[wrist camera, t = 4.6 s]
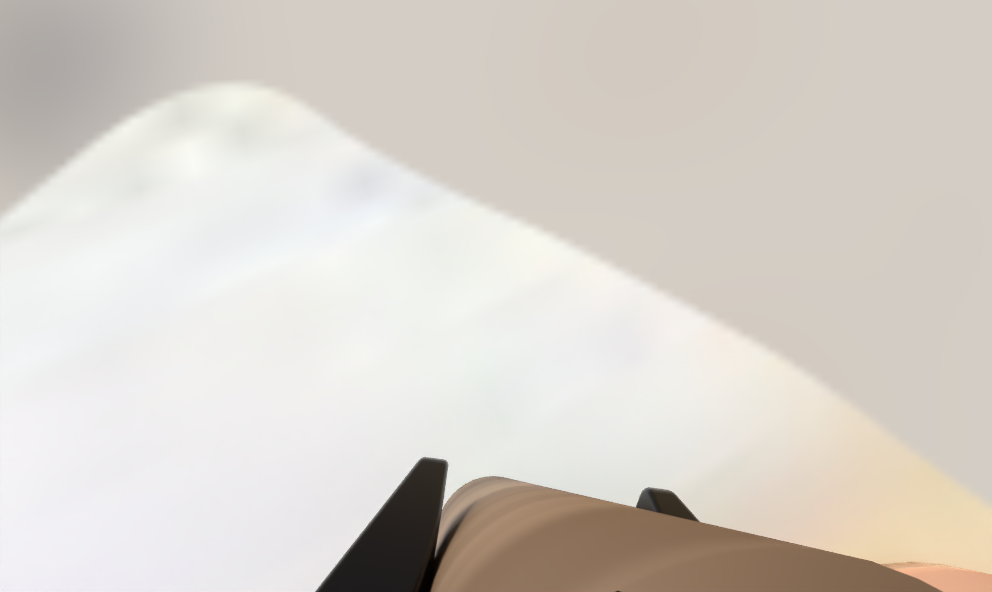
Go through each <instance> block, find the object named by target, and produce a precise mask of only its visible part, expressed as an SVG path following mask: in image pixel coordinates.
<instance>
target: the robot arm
mask: <svg viewBox="0 0 992 592" xmlns="http://www.w3.org/2000/svg"><path fill="white" fill-rule="evenodd" d="M447 471H448V462H447V461H446V460H443V459H436V458H428V457H423V458H421V459H420V460H419V461H418V462H417V463H416V465H415V466H414V467H413V468H412V470H411V471H410V472H409V474H408V475H407V476H406V477H405V479H404V480H403V481H402V482H401V484H400V485H399V486H398V487H397V489H396V490H395V491H394V493H393V494H392V495H391V496H390V498H389V499H388V500H387V501H386V503H385V504H384V505H383V506H382V508H381V509H380V510H379V512H378V513H377V514H376V515H375V517H374V518H373V519H372V520H371V522H370V523H369V524H368V525H367V527H366V528H365V529H364V531H363V532H362V533H361V534H360V536H359V537H358V538H357V539H356V541H355V542H354V543H353V545H352V546H351V547H350V548H349V550H348V551H347V552H346V553H345V555H344V556H343V557H342V558H341V560H340V561H339V562H338V564H337V565H336V566H335V567H334V569H333V570H332V571H331V572H330V574H329V575H328V576H327V577H326V579H325V580H324V581H323V583H322V584H321V585H320V586H319V588H318V589H317V590H316V591H315V592H428V588H429V583H430V579H431V576H432V571H433V565H434V559H435V552H436V545H437V539H438V532H439V526H440V519H441V512H442V505H443V498H444V492H445V485H446V478H447ZM636 508H640V509H644V510H648V511H653V512H657V513H662V514H666V515H670V516H675V517H679V518H684V519H688V520H692V521H697V522H700V521H699V520H698V519H697V518H696V517H695V516H694V515H693V514H692V512H691V511H690V510H689V509H688V508H687V507H686V506H685V505H684V503H683V502H682V501H681V500H680V499H679V498H678V497H677V496H676V495H675V494H674V493H673V492H672V491H669V490H664V489H657V488H650V487H649V488H645V489H644V490H643V491H642V493H641V495H640V498H639V500H638V503H637V505H636Z"/></svg>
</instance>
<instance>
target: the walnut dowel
mask: <svg viewBox="0 0 992 592" xmlns="http://www.w3.org/2000/svg"><path fill="white" fill-rule="evenodd" d="M428 592H943V591H941V590H939V589H937V588H935V587H933V586H931V585H929V584H927V583H926V582H924V581H922V580H920V579H918V578H915V577H912V576H910V575H907V574H904V573H902V572H899V571H896V570H893V569H891V568H888V567H885V566H883V565H880V564H877V563H875V562H872V561H868V560H864V559H859V558H855V557H850V556H846V555H842V554H837V553H833V552H829V551H824V550H820V549H815V548H811V547H807V546H802V545H798V544H793V543H789V542H785V541H780V540H776V539H771V538H767V537H763V536H758V535H754V534H749V533H745V532H741V531H736V530H732V529H727V528H723V527H719V526H714V525H710V524H706V523H701V522H697V521H692V520H688V519H684V518H679V517H675V516H670V515H666V514H662V513H657V512H653V511H648V510H644V509H640V508H635V507H631V506H626V505H622V504H618V503H613V502H609V501H604V500H600V499H596V498H591V497H587V496H583V495H578V494H574V493H569V492H565V491H561V490H556V489H552V488H547V487H543V486H539V485H534V484H530V483H525V482H521V481H517V480H512V479H508V478H503V477H495V476H492V477H483V478H479V479H476V480H473V481H471V482H469V483H467V484H465V485H464V486H462V487H461V488H459V489H458V490H457V491H456V492H455V493H454V494H453V495H452V496H451V497H450V498H449V500H448V501H447V503H446V504H445V506H444V508H443V510H442V512H441V519H440V526H439V532H438V539H437V545H436V552H435V559H434V565H433V571H432V576H431V579H430V583H429V588H428Z"/></svg>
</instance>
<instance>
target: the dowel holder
mask: <svg viewBox="0 0 992 592" xmlns="http://www.w3.org/2000/svg"><path fill="white" fill-rule="evenodd" d="M882 565H883V566H885V567H888V568H891V569H893V570H896V571H899V572H902V573H904V574H907V575H910V576H912V577H915V578H918V579H920V580H922V581H924V582H926V583H927V584H929V585H931V586H933V587H935V588H937V589H939V590H941V591H943V592H992V575H990V574H985V573H981V572H976V571H971V570H966V569H961V568H956V567H951V566H946V565H941V564H930V563H917V562H906V563H893V564H882Z"/></svg>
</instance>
